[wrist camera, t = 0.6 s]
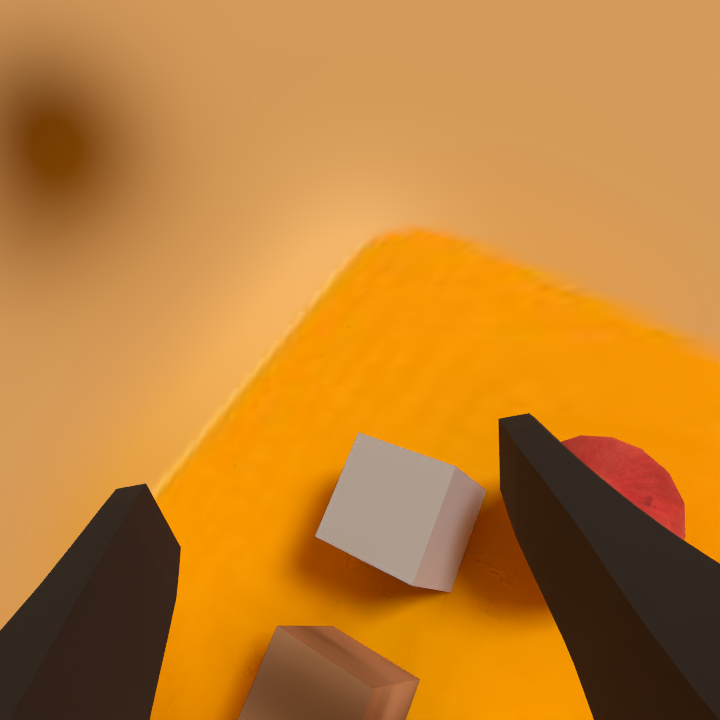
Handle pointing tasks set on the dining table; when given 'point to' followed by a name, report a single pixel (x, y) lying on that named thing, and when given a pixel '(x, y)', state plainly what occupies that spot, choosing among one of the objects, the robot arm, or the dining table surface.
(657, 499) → the onion
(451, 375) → the dining table surface
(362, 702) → the walnut cube
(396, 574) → the light grey cube
